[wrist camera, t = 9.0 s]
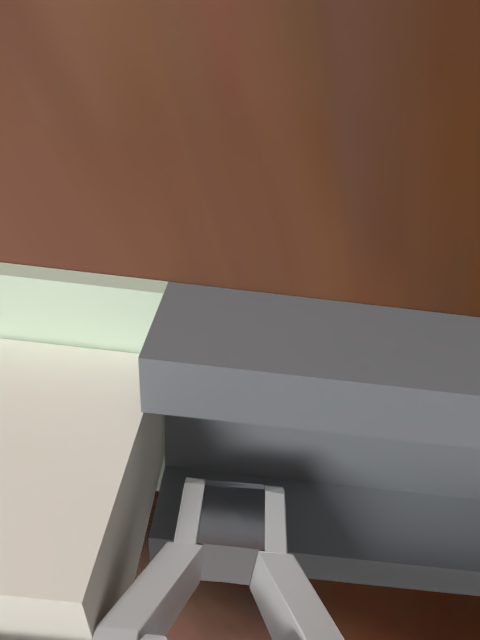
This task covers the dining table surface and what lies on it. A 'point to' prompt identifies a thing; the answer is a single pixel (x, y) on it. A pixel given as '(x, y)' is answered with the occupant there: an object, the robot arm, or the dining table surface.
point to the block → (71, 486)
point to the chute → (295, 412)
